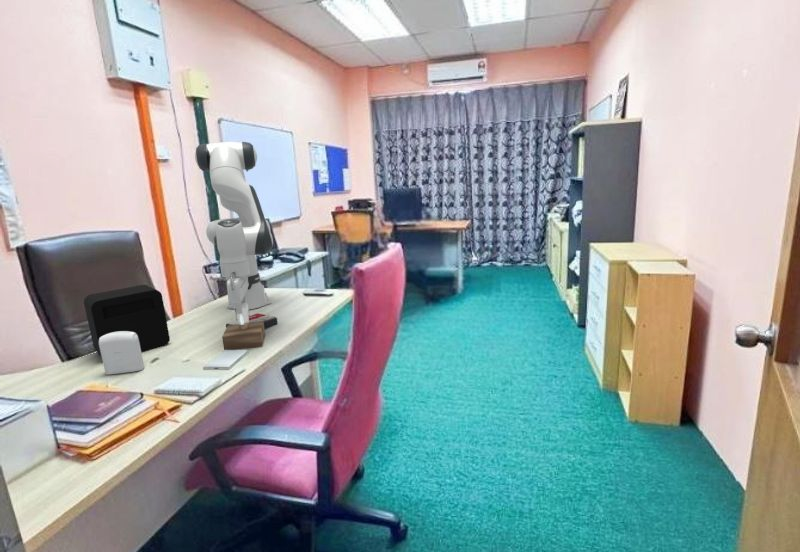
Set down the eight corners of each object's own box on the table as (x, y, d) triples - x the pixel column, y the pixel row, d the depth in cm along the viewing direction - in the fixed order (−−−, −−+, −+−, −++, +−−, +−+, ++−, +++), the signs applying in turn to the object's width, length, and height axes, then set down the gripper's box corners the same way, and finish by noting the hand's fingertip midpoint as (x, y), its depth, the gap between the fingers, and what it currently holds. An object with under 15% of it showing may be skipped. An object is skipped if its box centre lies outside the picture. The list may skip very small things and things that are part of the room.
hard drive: (224, 349, 139) (202, 366, 127) (248, 349, 138) (228, 366, 126) (225, 354, 139) (203, 371, 127) (249, 354, 138) (229, 371, 126)
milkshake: (249, 324, 150) (245, 297, 148) (252, 329, 145) (248, 300, 143) (235, 327, 148) (231, 299, 146) (238, 331, 143) (234, 302, 141)
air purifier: (158, 335, 160) (149, 282, 156) (171, 344, 150) (161, 288, 145) (93, 351, 146) (81, 295, 142) (103, 363, 136) (89, 302, 132)
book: (277, 315, 165) (245, 326, 152) (278, 326, 165) (246, 337, 153) (257, 312, 170) (225, 322, 158) (258, 322, 171) (226, 333, 158)
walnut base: (229, 338, 152) (227, 325, 151) (265, 334, 154) (263, 321, 153) (224, 351, 140) (221, 336, 139) (262, 346, 143) (260, 332, 142)
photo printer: (103, 376, 126) (94, 336, 123) (110, 370, 130) (101, 331, 128) (141, 372, 128) (133, 332, 125) (146, 366, 132) (139, 327, 129)
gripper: (241, 275, 132) (247, 318, 136) (248, 263, 152) (254, 301, 155) (219, 277, 131) (226, 320, 134) (230, 265, 151) (235, 303, 154)
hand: (241, 310), depth 145 cm, fingers open, 6 cm apart
